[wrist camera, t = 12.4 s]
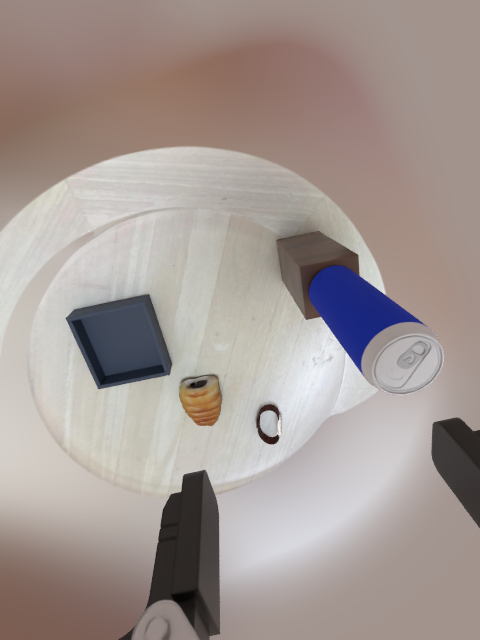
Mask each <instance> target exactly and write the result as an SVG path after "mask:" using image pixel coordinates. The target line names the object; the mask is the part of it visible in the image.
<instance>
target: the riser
mask: <svg viewBox="0 0 480 640" xmlns="http://www.w3.org/2000/svg"><path fill="white" fill-rule="evenodd" d="M277 247H278V254H279V260H280V267H281V274H282V280H283V282H284V284H285V285H286V287H287V289H288V290H289V292H290V294H291V295H292V297H293V299H294V300H295V302H296V304H297V305H298V307H299V309H300V310H301V312H302V314H303V315H304V317H305V319H306V320H308V319H312V318H317V317H321V316H320V314H319V313H318V311H317V310H316V309H315V307H314V306H313V304H312V303H311V301H310V297H309V288H310V284H311V282H312V280H313V279H314V277H315V276H316V275H317V274H318V273H319V272H320V271H322V270H323V269H325V268H327V267H330V266H335V265H339V266H344V267H347V268H349V269H351V270H352V271H353V272H355V273H356V274H357V275H359V260H358V255H357V254H356V253H354V252H352V251H351V250H349V249H347V248H346V247H344V246H342V245H341V244H339V243H337V242H336V241H334V240H332V239H331V238H329V237H327V236H326V235H324V234H322V233H321V232H319V231H318V232H313V233H309V234H304V235H299V236H294V237H289V238H285V239H280V240H277Z"/></svg>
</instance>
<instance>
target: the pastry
mask: <svg viewBox="0 0 480 640" xmlns="http://www.w3.org/2000/svg"><path fill="white" fill-rule="evenodd" d="M179 396H180V400H181V402H182V405H183V408H184V409H185V411H186V413H187V414H188V415H189V417H191V418H192V419H193V421H194V422H195V423H196V424H197V425H200V426H207V425H208V426H212V425H214V423H215V422H217V420H218V418H219V415H220V411H221V403H222V397H221V396H220V390H219V385H218V379H217V378H215V377H214V376H210V375H209V376H203V377H199V378H197V379H187V380H185V381H184V382H182V384H181V385H180V392H179Z"/></svg>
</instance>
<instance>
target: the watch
mask: <svg viewBox="0 0 480 640" xmlns="http://www.w3.org/2000/svg"><path fill="white" fill-rule="evenodd" d="M267 410H271V411H273V412H275V413H276V414H277V416H278V432H277V433H278V435H277V436H275V437H269V436H267V435H265V434H264V433H263V432H262V430H261V428H260V415H261V413H262V412H264V411H267ZM257 427H258V434H259V436H260V438H261V439H262V440H263V441H264V442H266V443H268V444H275V443H277V442H278V440H279V436H280V435H281V432H282V416H280V413H279V410H278V409H277V407H275V406H274V405H271V404H268V405H265V406H263V407H262V408H261V410H260V412H259V415H258V418H257Z"/></svg>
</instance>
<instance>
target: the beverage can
mask: <svg viewBox="0 0 480 640" xmlns="http://www.w3.org/2000/svg"><path fill="white" fill-rule="evenodd" d="M309 297H310V301H311V303H312V304H313V306H314V307H315V309H316V310H317V311H318V313H319V314H320V316H321V317H322V318H323V320H324V321H325V323H326V324H327V325H328V327H329V328H330V330H331V331H332V332H333V334H334V335H335V337H336V338H337V339H338V341H339V342H340V344H341V345H342V346H343V348H344V349H345V351H346V352H347V353H348V355H349V356H350V358H351V359H352V360H353V362H354V363H355V365H356V366H357V367H358V369H359V370H360V372H361V373H362V374H363V376H364V377H365V379H366V380H367V381H368V382H369V383H370V384H371V385H373V386H374V387H376V388H378V389H380V390H382V391H383V392H385V393H388V394H392V395H408V394H412V393H415V392H418V391H420V390H422V389H424V388H425V387H427V386H428V385H429V384H430V383H432V381H434V379H435V378H436V377H437V376H438V374H439V373H440V371H441V369H442V366H443V363H444V352H443V348H442V346H441V344H440V342H439V340H438V338H437V336H436V334H435V333H434V332H433V331H432V330H431V329H430V328H429V327H427V326H426V325H425V324H423V323H422V322H421V321H419V320H418V319H417V318H415V317H414V316H413V315H411V314H410V313H409V312H407V311H406V310H404V309H403V308H402V307H400V306H399V305H398V304H396V303H395V302H394V301H392V300H391V299H390V298H388V297H387V296H386V295H384V294H383V293H382V292H380V291H379V290H378V289H376V288H375V287H374V286H372V285H371V284H370V283H368V282H367V281H365V280H364V279H363V278H361V277H360V276H359V275H357V274H356V273H355V272H353V271H352V270H351V269H349V268H347V267H344V266H339V265H335V266H330V267H327V268H325V269H323V270H322V271H320V272H319V273H318V274H317V275H316V276H315V277H314V279H313V280H312V282H311V284H310V288H309Z"/></svg>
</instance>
